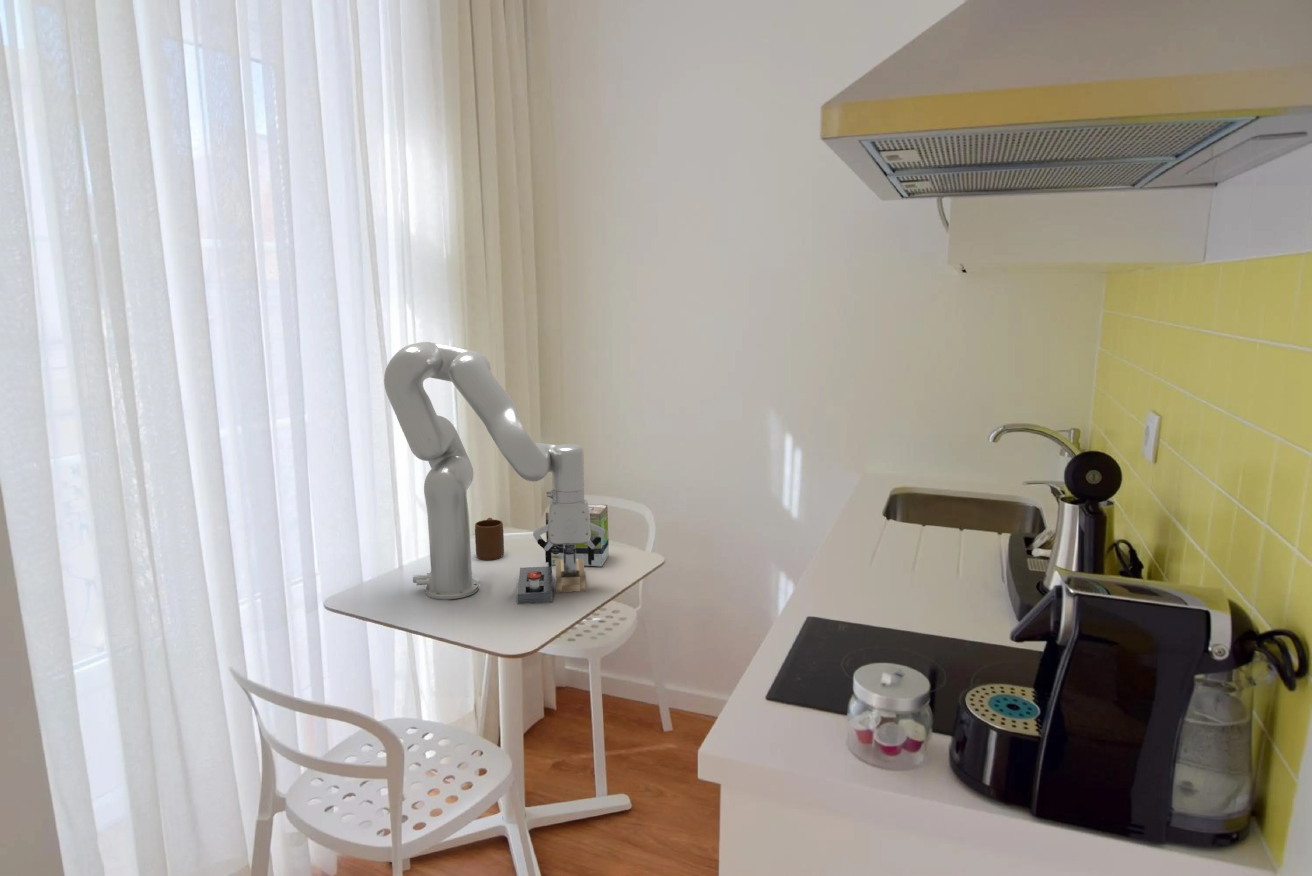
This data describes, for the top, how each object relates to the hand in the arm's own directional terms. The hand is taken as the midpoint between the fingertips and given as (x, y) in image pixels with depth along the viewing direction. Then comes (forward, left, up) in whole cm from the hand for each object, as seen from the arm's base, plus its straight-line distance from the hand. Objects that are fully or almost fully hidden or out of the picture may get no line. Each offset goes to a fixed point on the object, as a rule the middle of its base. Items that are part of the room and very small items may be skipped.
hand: (570, 564), depth 191 cm
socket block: (-8, 0, -6) cm, 10 cm away
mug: (-21, +29, -6) cm, 37 cm away
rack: (0, +4, -6) cm, 7 cm away
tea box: (+3, +20, -6) cm, 21 cm away
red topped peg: (-8, -7, -5) cm, 12 cm away
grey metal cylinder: (0, 0, -6) cm, 6 cm away
